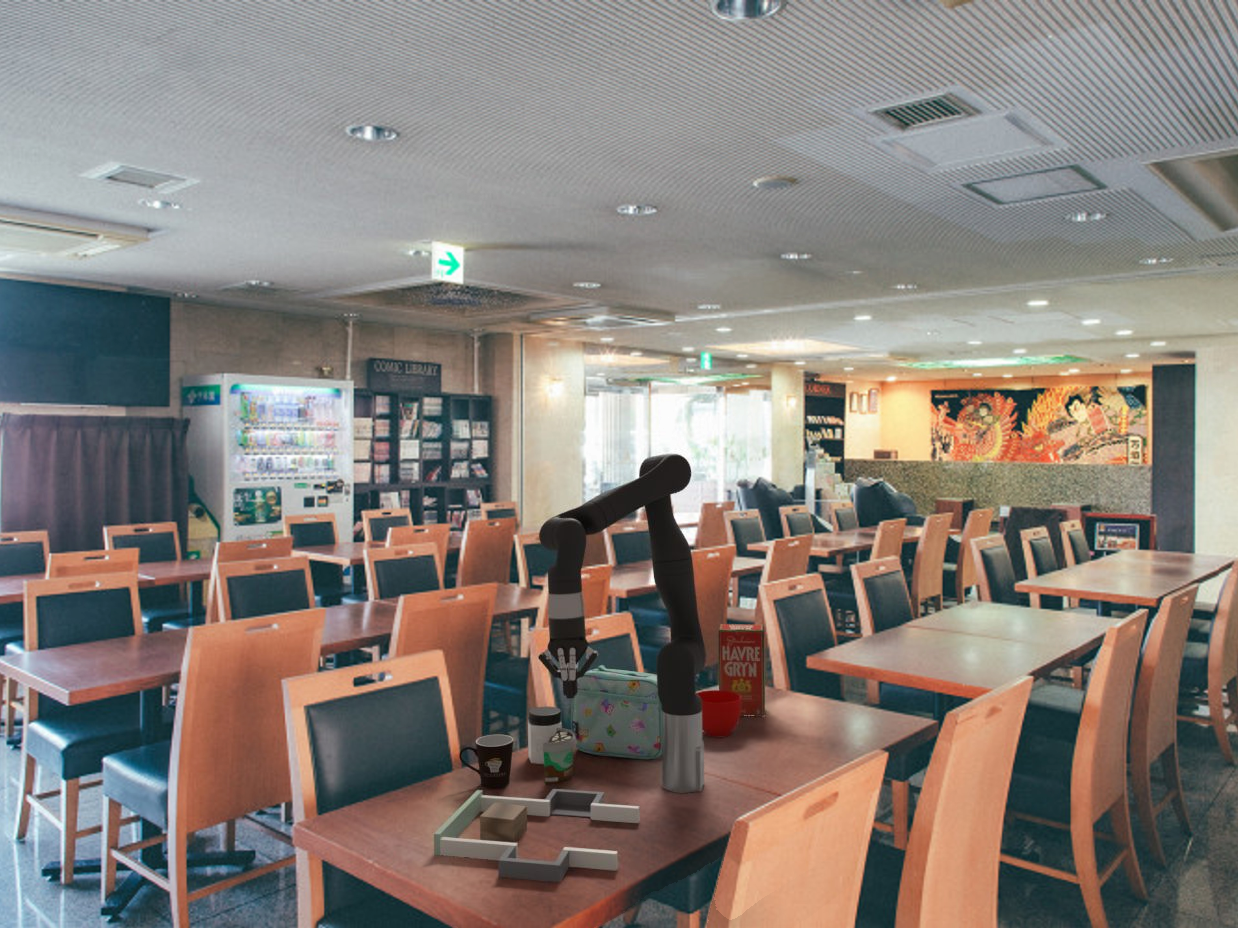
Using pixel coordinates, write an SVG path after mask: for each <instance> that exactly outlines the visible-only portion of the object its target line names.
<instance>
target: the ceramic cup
mask: <svg viewBox="0 0 1238 928" xmlns="http://www.w3.org/2000/svg"><path fill="white" fill-rule="evenodd" d="M696 695H698V696H700V697H701V699H702V732H703V733H704V734H705V735H706V736H708V737H711V736H712V738H725V737H727V736H730V735H731V733H732V732H733V731H734V730H735V729H736V727H737V725H738V723H739V721H740V717H741V716H740V713H741V696H740V695H739V694H737V693H734V692H729V691H721V690H719V689H718V690H717V689H716V690H712V689H711V690H704V691H699V692H696Z"/></svg>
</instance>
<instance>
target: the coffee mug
mask: <svg viewBox="0 0 1238 928" xmlns="http://www.w3.org/2000/svg"><path fill="white" fill-rule="evenodd" d="M513 748H514V738H513V737H512V736H510V735H506V734H487V735H484V736H481V737H478V738H476V739H475V747H472V746H465V747H462V749H461V750H460V751H459V756H458V757H459V759H460V762H461V763H462V764H464V765H465V767H467V768H469V769H471V770H472V771H474V772H476V773H477V774H478V775H479V779H480V785H481V787H482V788H485V789H488V790H489V789H490V790H497V789H503V788H506V787H508V786H509V784H510V777H511V771H512V770H511V769H512V768H511V767H512V760H513V759H512V757H513ZM467 750H470V751H473V753H474V754H475V756H476V757H477V762H478V763H477V764H478V769H477V768H476V767H474V766H472V765H470V764H469V763H467V761H465V760H464V759H463V756H462V755H463V752H464V751H467Z"/></svg>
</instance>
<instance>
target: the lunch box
mask: <svg viewBox="0 0 1238 928" xmlns="http://www.w3.org/2000/svg"><path fill="white" fill-rule="evenodd" d="M577 685H578V692H577V694H576V695H575V697H574V698H571V701H570V705H569V707H568V711H567V714H569V715H570V730H571V731H572V732H573V733H574V735H575V738H576V742H577V743H576V745H575V746H574V747H575V748H577V750H578V751H581V752H583V753H587V754H590V755H594V756H595V755H596V756H602V757H612V758H613V757H614V758H625V759H626V758H627V759H634V760H653V759H657V758H659V757H661V756H662V719H661V702H660V699H659V696H658V688H657V674H654V673H648V672H640V671H631V670H626V669H625V670H623V669H613V668H612V669H611V668H606V667H605V665H603V664H601V665H598V666H597V668H594V669H590V670H587V672H586V673H585V674H584V676H583V677H580V678H578V679H577Z"/></svg>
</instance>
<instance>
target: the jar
mask: <svg viewBox="0 0 1238 928" xmlns="http://www.w3.org/2000/svg"><path fill="white" fill-rule="evenodd" d="M561 710H562V709H560V708H558V707H556V706H538V707H533V708H530V709H529V710H528V713H527V714H528V717H527V719H528V720H527V725H528V726H527V729H528V730H527V736H528V737H527V738H528V741H527V743H528V759H529V761H530V763H531V764H537V765H544V752H543V742H546V743H547V742H548V741H549V739H550V738H551V737H552V736H553V735H555V733H556V730H557V728H563V724H562V711H561Z"/></svg>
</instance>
